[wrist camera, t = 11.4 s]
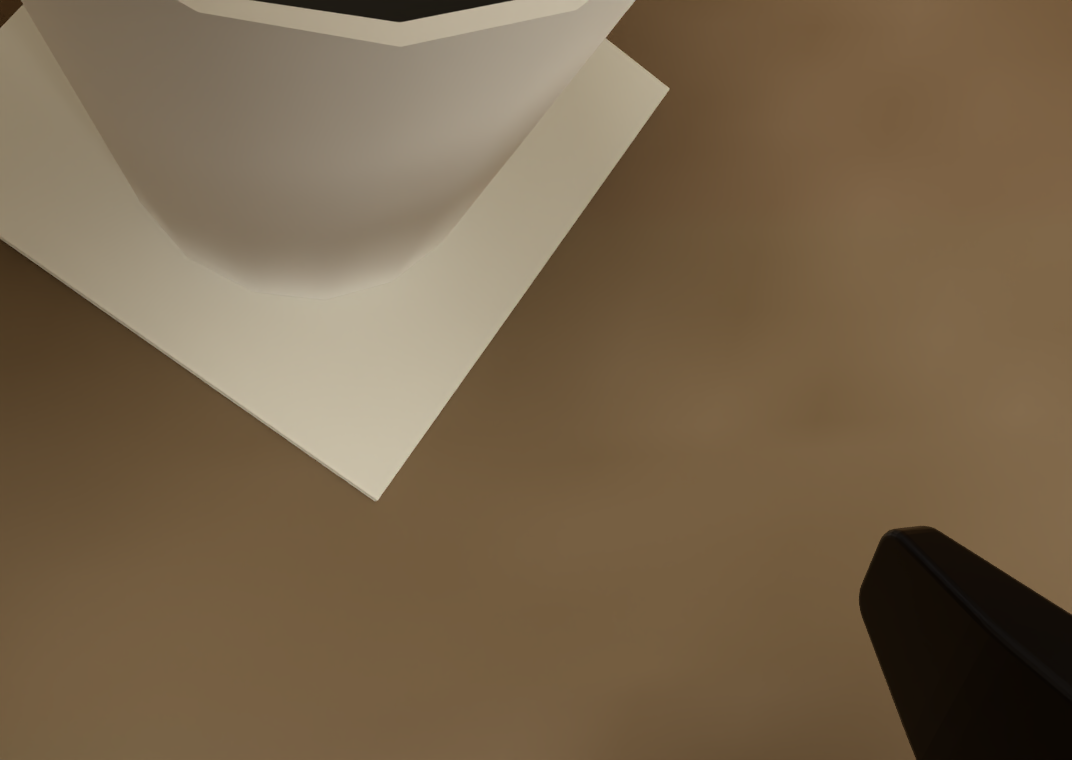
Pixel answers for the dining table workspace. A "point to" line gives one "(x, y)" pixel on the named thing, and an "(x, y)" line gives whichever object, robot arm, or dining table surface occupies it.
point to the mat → (295, 322)
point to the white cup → (316, 119)
